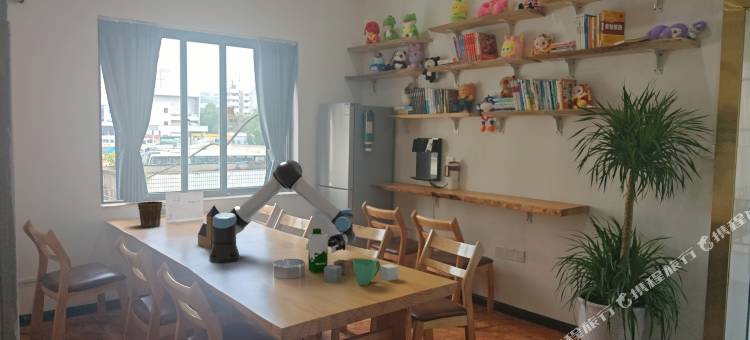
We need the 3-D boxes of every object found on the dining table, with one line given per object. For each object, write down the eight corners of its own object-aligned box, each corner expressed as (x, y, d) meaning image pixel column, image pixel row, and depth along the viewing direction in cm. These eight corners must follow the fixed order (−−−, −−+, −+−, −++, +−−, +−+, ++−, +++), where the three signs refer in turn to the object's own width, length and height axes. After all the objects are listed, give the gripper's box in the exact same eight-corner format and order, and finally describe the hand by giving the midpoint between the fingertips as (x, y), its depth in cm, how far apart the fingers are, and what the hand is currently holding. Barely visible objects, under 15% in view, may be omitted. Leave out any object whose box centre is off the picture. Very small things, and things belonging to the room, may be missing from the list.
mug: (363, 288, 232) (364, 265, 232) (347, 283, 239) (348, 261, 238) (386, 281, 243) (386, 259, 242) (370, 277, 250) (370, 256, 249)
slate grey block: (323, 280, 243) (324, 267, 243) (329, 277, 249) (329, 264, 248) (335, 282, 241) (336, 269, 240) (341, 278, 246) (341, 266, 246)
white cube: (379, 278, 250) (380, 265, 249) (390, 276, 253) (391, 263, 252) (387, 281, 245) (387, 268, 244) (397, 279, 248) (398, 266, 247)
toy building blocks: (210, 250, 298) (210, 205, 297) (197, 244, 313) (197, 202, 311) (231, 247, 306) (232, 204, 305) (218, 242, 321) (218, 200, 319)
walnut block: (333, 274, 254) (333, 262, 253) (338, 271, 259) (338, 259, 259) (344, 276, 251) (345, 263, 251) (350, 273, 257) (350, 260, 257)
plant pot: (132, 227, 363) (132, 203, 362) (146, 223, 379) (146, 200, 377) (154, 228, 360) (154, 204, 359) (167, 224, 376) (167, 201, 375)
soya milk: (322, 267, 266) (323, 227, 264) (329, 272, 258) (330, 230, 256) (306, 269, 262) (306, 228, 260) (312, 273, 254) (313, 232, 252)
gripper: (359, 250, 275) (342, 259, 255) (316, 245, 283) (296, 253, 264) (360, 235, 274) (343, 243, 254) (316, 231, 283) (296, 238, 263)
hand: (319, 248), depth 259 cm, fingers open, 13 cm apart
